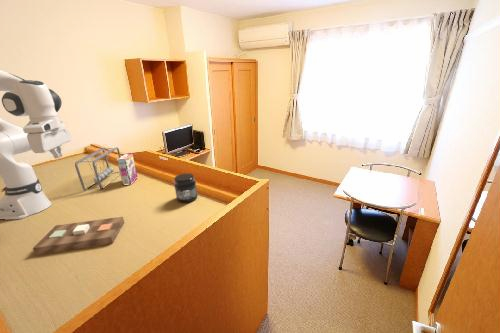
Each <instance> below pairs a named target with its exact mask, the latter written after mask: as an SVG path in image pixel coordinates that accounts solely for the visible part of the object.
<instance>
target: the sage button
mask: <svg viewBox="0 0 500 333" xmlns="http://www.w3.org/2000/svg"><path fill="white" fill-rule="evenodd" d="M66 231H67V230H60V231H55V232H54V233H53V234H52V235H51V236H50V237H49V239H51V238H58V237H62V236H63V234H64V233H65V232H66Z"/></svg>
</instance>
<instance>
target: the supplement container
mask: <svg viewBox="0 0 500 333" xmlns="http://www.w3.org/2000/svg"><path fill="white" fill-rule="evenodd" d="M173 181H174V185H173V186H174V190H175V195H176V196H175V197H176V200H177V201H178V202H179V203H184V204H187V203H190V202H193V201H195V200H196V199H197V198H198V190H197V180H195V175H194V174H193V173H182V174H178V175H176V176H175V177H174V180H173Z"/></svg>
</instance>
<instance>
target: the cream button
mask: <svg viewBox="0 0 500 333" xmlns="http://www.w3.org/2000/svg"><path fill="white" fill-rule="evenodd" d="M89 228H90V226H89V224H85V225H78V226H77V227H76V228H75V229H74V230H73V234H74V235H79V234H86V232H87V231H88V230H89Z"/></svg>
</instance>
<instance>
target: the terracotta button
mask: <svg viewBox="0 0 500 333" xmlns="http://www.w3.org/2000/svg"><path fill="white" fill-rule="evenodd" d="M112 225H113V224H112V223H111V224H104V225H101V226H100V228H99V229H98V232H100V231H107V230H110V228H111V227H112Z"/></svg>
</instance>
